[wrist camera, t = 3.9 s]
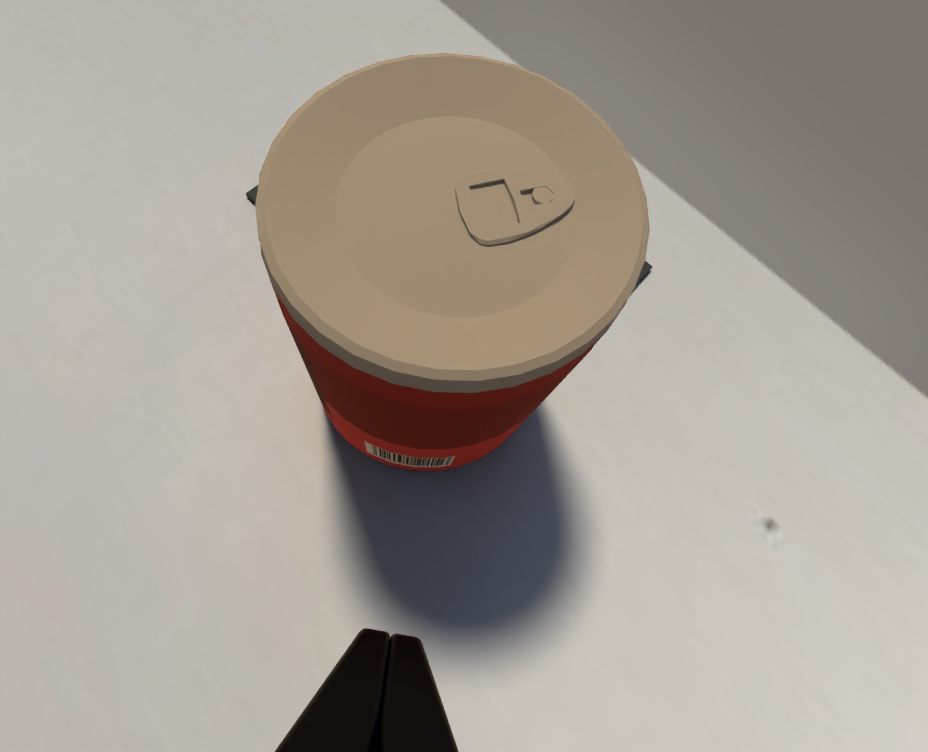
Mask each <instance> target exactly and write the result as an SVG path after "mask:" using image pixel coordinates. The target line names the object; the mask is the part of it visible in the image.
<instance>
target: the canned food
mask: <svg viewBox="0 0 928 752" xmlns="http://www.w3.org/2000/svg"><path fill="white" fill-rule="evenodd" d="M255 206H256V217H257V227H258V237H259V241H260V246H261V255H262V258H263V261H264V264H265V266H266V269H267V272H268V275H269V278H270V281H271V283H272V286H273V289H274V291H275V294H276V296H277V299H278V302H279V305H280V308H281V311H282V313H283V315H284V318H285V320H286V322H287V325H288V327H289V329H290V331H291V334H292V336H293V338H294V341H295V343H296V345H297V347H298V350H299V352H300V354H301V357H302V359H303V361H304V363H305V366H306V368H307V370H308V373H309V375H310V377H311V380H312V382H313V384H314V386H315V389H316V391H317V393H318V396H319V398H320V400H321V402H322V405H323V407H324V409H325V412H326V413H327V415H328V416H329V418H330V420H331V421H332V423H333V424H334V426H335V428H336V429H337V430H338V431H339V433H340V434H341V435H342V436H343V437H344V438H345V439H346V440H347V441H348V442H349V443H350V444H351V445H352V446H354V447H355V448H357V449H358V450H360V451H361V452H363V453H364V454H366V455H367V456H369V457H370V458H372V459H375V460H377V461H380V462H382V463H384V464H387V465H389V466H392V467H397V468H402V469H407V470H412V471H439V470H445V469H450V468H456V467H460V466H463V465H465V464H468V463H470V462H473V461H475V460H478V459H480V458H482V457H483V456H485V455H487V454H488V453H490V452H491V451H493V450H494V449H496V448H498V447H499V446H500V445H501V444H502V443H503V442H504V441H505V440H506V439H507V438H508V437H509V436H510V435H511V434H512V433H513V432H514V431H515V430H516V429H517V428H518V427H519V426H520V425H521V424H522V423H523V422H524V421H525V420H526V419H527V418H528V416H529V415H530V414H531V413H532V412H533V411H534V410H535V409H536V408H537V407H538V406H539V405H540V404H541V403H542V402H543V400H544V399H545V398H546V397H547V396H548V395H549V394H550V393H551V392H552V391H553V390H554V389H555V388H556V387H557V386H558V385H559V383H560V382H561V381H562V380H563V379H564V378H565V377H566V376H567V375H568V374H569V373H570V372H571V371H572V370H573V369H574V367H575V366H576V365H577V364H578V363H579V362H580V361H581V360H582V359H583V358H584V357H585V356H586V355H587V354H588V353H589V352H590V350H591V349H592V348H593V346H594V345H595V344H596V342H597V341H598V340H599V339H600V338H601V337H602V336H603V335H604V334H605V333H606V331H607V330H608V329H609V327H610V326H611V324H612V323H613V322H614V320H615V319H616V317H617V316H618V314H619V313H620V311H621V310H622V308H623V307H624V305H625V304H626V302H627V299H628V297H629V296H630V294H631V293H632V291H633V290H634V288H635V285H636V283H637V280H638V277H639V275H640V272H641V269H642V267H643V264H644V262H645V258H646V250H647V243H648V235H649V219H648V209H647V199H646V195H645V192H644V189H643V186H642V183H641V180H640V177H639V173H638V170H637V168H636V166H635V164H634V162H633V161H632V159H631V157H630V155H629V154H628V152H627V150H626V148H625V146H624V145H623V143H622V141H621V140H620V139H619V138H618V136H617V135H616V134H615V133H614V132H613V131H612V129H611V128H610V127H609V126H608V124H607V123H606V122H605V121H604V120H603V119H602V117H601V116H600V115H598V114H597V113H596V112H595V111H594V110H593V109H591V108H590V107H589V106H588V105H587V104H585V103H584V102H583V101H582V100H581V99H579V98H578V97H577V96H576V95H574V94H573V93H571V92H569V91H568V90H566V89H564V88H563V87H561V86H559V85H558V84H556V83H554V82H553V81H551V80H549V79H548V78H546V77H543V76H541V75H538V74H536V73H533V72H531V71H529V70H526V69H524V68H521V67H519V66H516V65H513V64H509V63H505V62H501V61H497V60H493V59H489V58H484V57H479V56H469V55H458V54H447V53H444V54H426V55H410V56H406V57H401V58H396V59H392V60H387V61H382V62H377V63H375V64H372V65H370V66H367V67H365V68H362V69H359V70H357V71H354V72H352V73H349V74H347V75H344V76H343V77H341V78H340V79H338V80H336V81H335V82H333V83H331V84H330V85H328V86H326V87H325V88H323V89H322V90H320V91H318V92H317V93H315V94H314V95H313V96H312V97H311V98H310V99H309V100H308V101H307V102H306V103H305V104H303V105H302V106H301V107H300V108H299V109H298V110H297V111H296V112H295V113H294V114H292V116H291V117H290V118H289V120H288V121H287V123H286V124H285V125H284V127H283V128H282V130H281V131H280V132H279V134H278V135H277V137H276V138H275V139H274V141H273V142H272V145H271V147H270V150H269V152H268V155H267V157H266V159H265V162H264V164H263V167H262V169H261V172H260V177H259V184H258V191H257V197H256V204H255Z"/></svg>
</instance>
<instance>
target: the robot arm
mask: <svg viewBox="0 0 928 752" xmlns="http://www.w3.org/2000/svg"><path fill="white" fill-rule="evenodd" d="M275 752H458V749H457V746H456V743H455V740H454V737H453V734H452V731H451V728H450V725H449V722H448V719H447V716H446V713H445V710H444V707H443V704H442V701H441V698H440V695H439V692H438V689H437V686H436V683H435V680H434V677H433V674H432V671H431V668H430V665H429V662H428V659H427V656H426V653H425V650H424V647H423V644H422V642H421V640H420V639H419V638H417V637H413V636H407V635H401V634H394V635H392V636H391V638H390V635H389V633H387V632H384V631H379V630H373V629H367V628H365V629H362V630H361V631H360V632H359V633H358V635H357V636H356V637H355V639H354V640H353V642H352V643H351V645H350V646H349V647H348V649H347V650H346V652H345V653H344V654H343V656H342V657H341V659H340V660H339V662H338V663H337V664H336V666H335V667H334V669H333V670H332V671H331V673H330V674H329V676H328V677H327V678H326V680H325V681H324V683H323V684H322V686H321V687H320V688H319V690H318V691H317V693H316V694H315V695H314V697H313V698H312V700H311V701H310V703H309V704H308V705H307V707H306V708H305V710H304V711H303V712H302V714H301V715H300V717H299V718H298V720H297V721H296V722H295V724H294V725H293V727H292V728H291V729H290V731H289V732H288V734H287V735H286V736H285V738H284V739H283V741H282V742H281V744H280V745H279V746H278V748H277V749H276V751H275Z"/></svg>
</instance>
